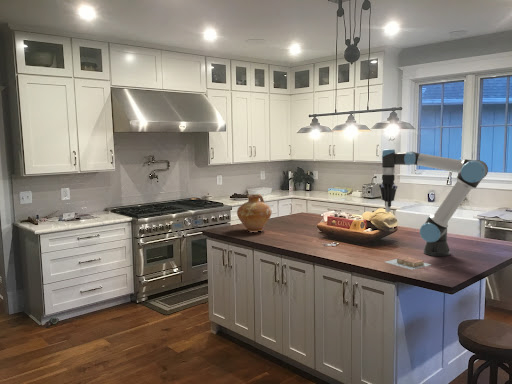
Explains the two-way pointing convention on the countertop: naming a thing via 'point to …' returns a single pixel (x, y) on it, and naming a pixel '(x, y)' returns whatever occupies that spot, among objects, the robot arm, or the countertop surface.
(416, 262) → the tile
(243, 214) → the jug
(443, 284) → the countertop surface
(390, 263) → the mat
